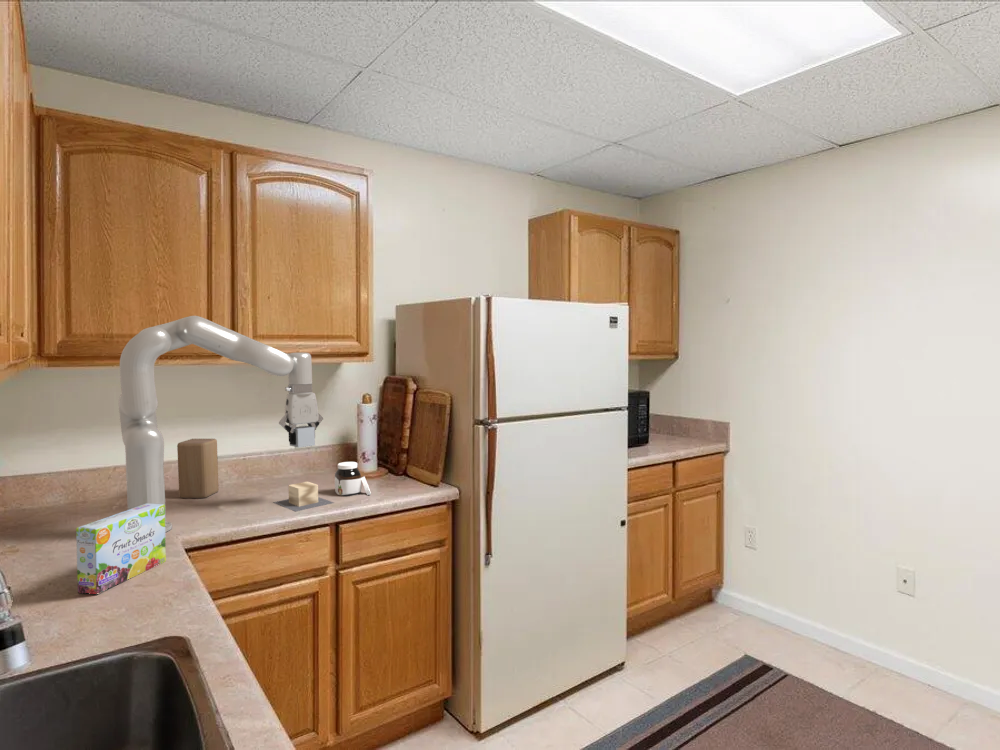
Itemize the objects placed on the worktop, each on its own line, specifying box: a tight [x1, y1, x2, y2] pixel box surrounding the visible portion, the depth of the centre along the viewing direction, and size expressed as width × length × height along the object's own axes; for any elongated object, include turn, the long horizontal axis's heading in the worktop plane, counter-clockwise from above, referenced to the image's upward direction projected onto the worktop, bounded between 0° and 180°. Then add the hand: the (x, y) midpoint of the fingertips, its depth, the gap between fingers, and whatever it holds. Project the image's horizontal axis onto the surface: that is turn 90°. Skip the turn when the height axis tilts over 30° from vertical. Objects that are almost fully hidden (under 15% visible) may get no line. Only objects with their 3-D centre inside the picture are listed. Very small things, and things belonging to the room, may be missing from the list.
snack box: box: [75, 503, 167, 595], centre depth 143 cm, size 21×6×15 cm, turn 170°
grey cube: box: [289, 425, 316, 448], centre depth 202 cm, size 6×6×6 cm
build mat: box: [272, 496, 335, 512], centre depth 204 cm, size 14×16×1 cm
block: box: [176, 438, 220, 499], centre depth 218 cm, size 10×10×20 cm
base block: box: [287, 481, 319, 506], centre depth 204 cm, size 7×7×6 cm
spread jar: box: [334, 461, 372, 497], centre depth 216 cm, size 12×11×12 cm
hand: (302, 442), depth 203 cm, fingers closed on grey cube, 6 cm apart
